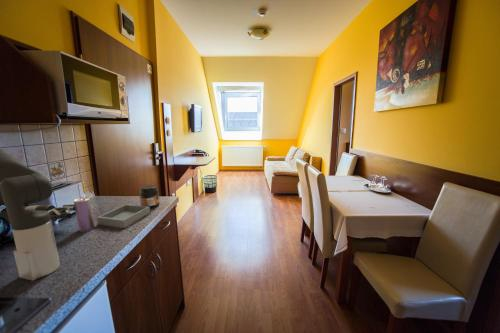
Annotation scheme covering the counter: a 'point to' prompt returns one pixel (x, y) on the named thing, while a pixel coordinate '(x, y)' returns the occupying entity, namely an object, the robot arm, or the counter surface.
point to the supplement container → (149, 196)
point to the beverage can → (84, 214)
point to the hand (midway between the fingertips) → (77, 211)
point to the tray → (123, 216)
